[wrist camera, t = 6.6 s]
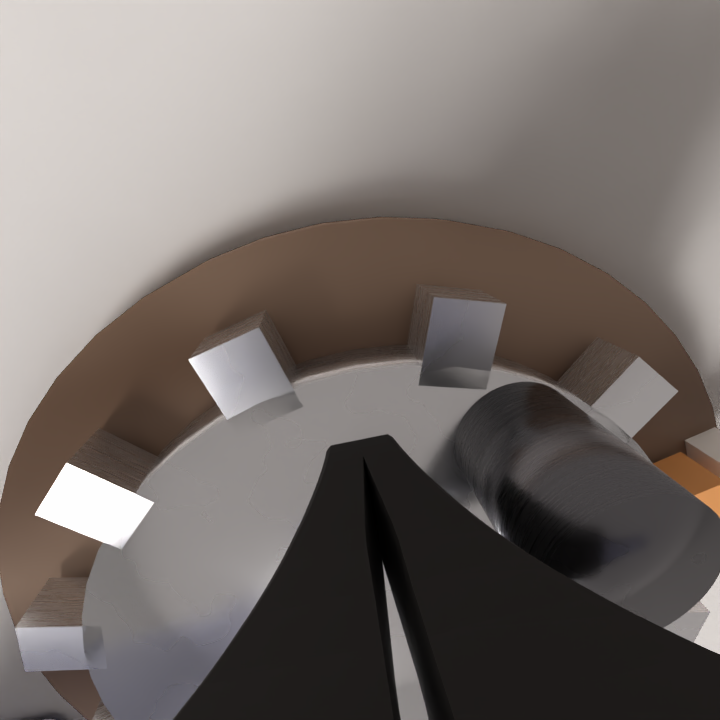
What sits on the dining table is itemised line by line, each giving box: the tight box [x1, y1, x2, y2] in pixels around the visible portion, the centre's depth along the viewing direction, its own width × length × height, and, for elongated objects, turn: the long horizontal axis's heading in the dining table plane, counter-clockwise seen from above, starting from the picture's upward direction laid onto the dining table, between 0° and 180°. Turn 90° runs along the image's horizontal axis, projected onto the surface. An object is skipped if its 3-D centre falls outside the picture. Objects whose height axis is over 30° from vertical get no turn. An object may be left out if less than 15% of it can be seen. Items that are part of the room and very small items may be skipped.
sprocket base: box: [0, 217, 720, 720], centre depth 14 cm, size 23×23×3 cm
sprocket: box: [15, 284, 720, 720], centre depth 11 cm, size 20×20×6 cm
